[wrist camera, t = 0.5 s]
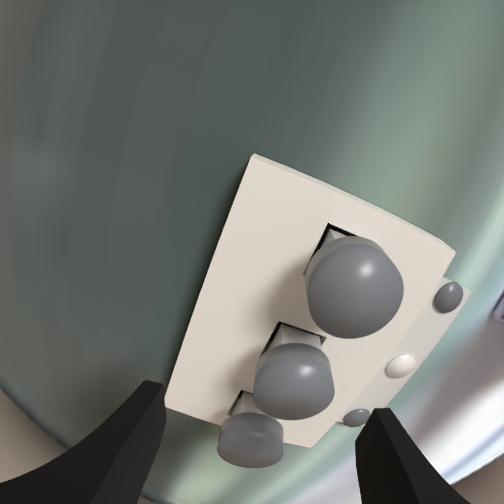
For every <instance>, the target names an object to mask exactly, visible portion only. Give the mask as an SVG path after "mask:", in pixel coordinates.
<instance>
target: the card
mask: <svg viewBox="0 0 504 504" xmlns="http://www.w3.org/2000/svg"><path fill="white" fill-rule="evenodd" d="M470 293H471V291H470V290H469V289H467V288H465V287H463V286H461V285H459V284H458V283H456V282H453V281H451V280H449V279H447V278H445V277H443V276H442V278H441V280H440V281H439V283H438V285H437V286H436V288H435V290H434V291H433V293H432V295H431V296H430V298H429V299H428V301H427V303H426V304H425V306H424V307H423V309H422V310H421V312H420V313H419V315H418V317H417V318H416V320H415V321H414V323H413V324H412V326H411V327H410V328H409V330H408V331H407V333H406V334H405V336H404V337H403V339H402V340H401V341H400V343H399V344H398V346H397V347H396V348H395V350H394V351H393V352H392V354H391V355H390V356H389V358H388V359H387V361H386V362H385V363H384V364H383V366H382V367H381V368H380V370H379V371H378V372H377V374H376V375H375V376H374V377H373V379H372V380H371V381H370V382H369V384H368V385H367V386H366V387H365V389H364V390H363V391H362V392H361V393H360V395H359V396H358V397H357V398H356V399H355V401H354V402H353V403H352V404H351V405H350V406H349V408H348V409H347V410H346V411H345V412H344V413H343V414H342V416H341V417H340V418H339V419H338V420H337V421H336V422H341V423H345V425H347V426H349V427H358V426H363V427H364V426H365V424H366V422H367V420H368V419H369V417H370V415H371V413H372V411H373V410H374V408H384V407H385V406H386V405H387V404H388V403H389V402H390V401H391V400H392V398H393V397H394V396H395V395H396V394H397V393H398V392H399V390H400V389H401V388H402V387H403V386H404V385H405V383H406V382H407V381H408V380H409V379H410V377H411V376H412V375H413V374H414V372H415V371H416V370H417V369H418V367H419V366H420V365H421V364H422V362H423V361H424V360H425V358H426V357H427V356H428V354H429V353H430V352H431V350H432V349H433V348H434V346H435V345H436V344H437V342H438V341H439V340H440V338H441V337H442V335H443V334H444V332H445V331H446V330H447V328H448V327H449V325H450V324H451V322H452V321H453V319H454V318H455V316H456V315H457V313H458V312H459V310H460V309H461V307H462V306H463V304H464V302H465V301H466V299H467V298H468V296H469V294H470Z"/></svg>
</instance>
